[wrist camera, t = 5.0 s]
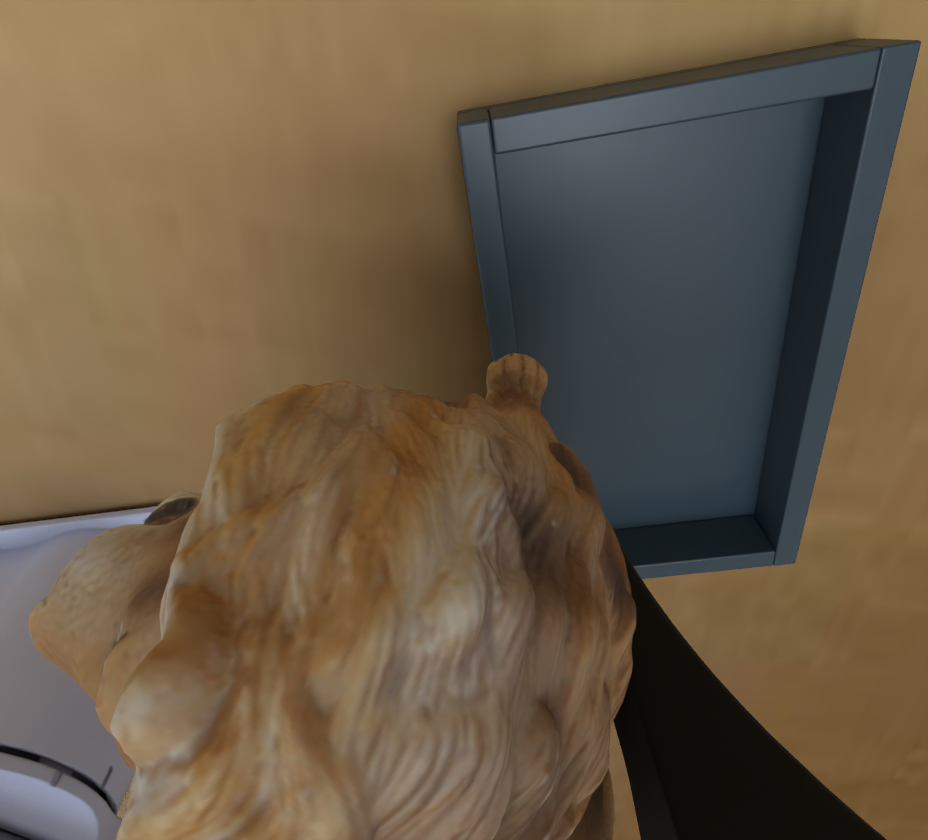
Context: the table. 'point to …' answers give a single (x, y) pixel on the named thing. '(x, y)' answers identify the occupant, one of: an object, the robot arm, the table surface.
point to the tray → (690, 281)
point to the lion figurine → (361, 626)
